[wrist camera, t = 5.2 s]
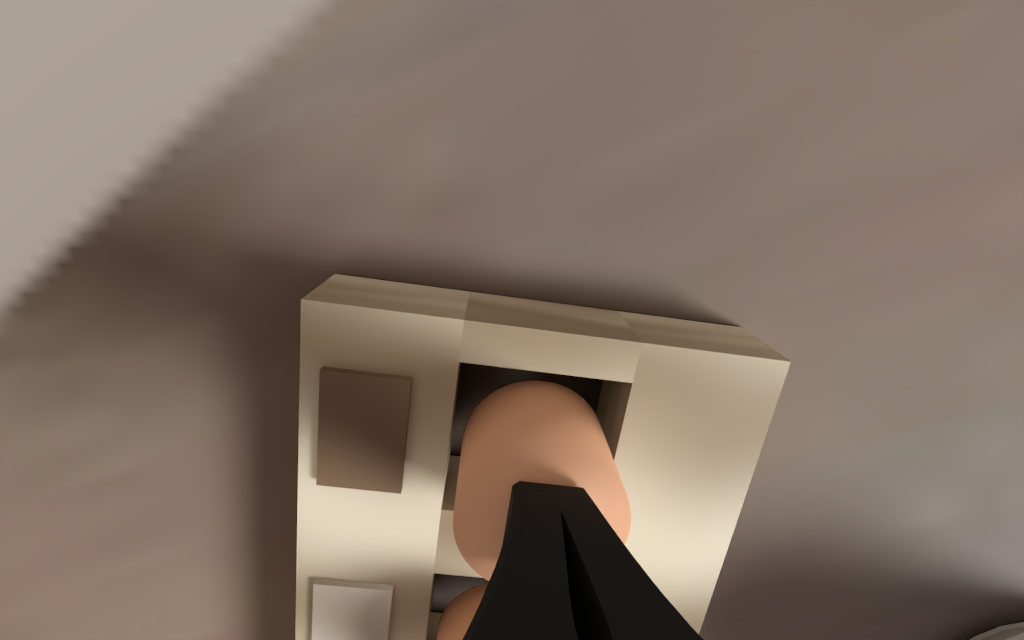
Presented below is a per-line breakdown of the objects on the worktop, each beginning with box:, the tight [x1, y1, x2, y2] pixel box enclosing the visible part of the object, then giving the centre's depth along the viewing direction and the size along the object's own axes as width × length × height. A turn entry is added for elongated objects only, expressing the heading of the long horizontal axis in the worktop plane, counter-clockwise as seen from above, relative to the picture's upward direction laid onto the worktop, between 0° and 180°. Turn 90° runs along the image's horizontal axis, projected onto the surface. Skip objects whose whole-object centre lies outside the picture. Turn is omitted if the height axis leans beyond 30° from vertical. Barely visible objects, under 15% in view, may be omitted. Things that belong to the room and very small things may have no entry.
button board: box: [295, 274, 791, 640], centre depth 15 cm, size 18×11×3 cm, turn 172°
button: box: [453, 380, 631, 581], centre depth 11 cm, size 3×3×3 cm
